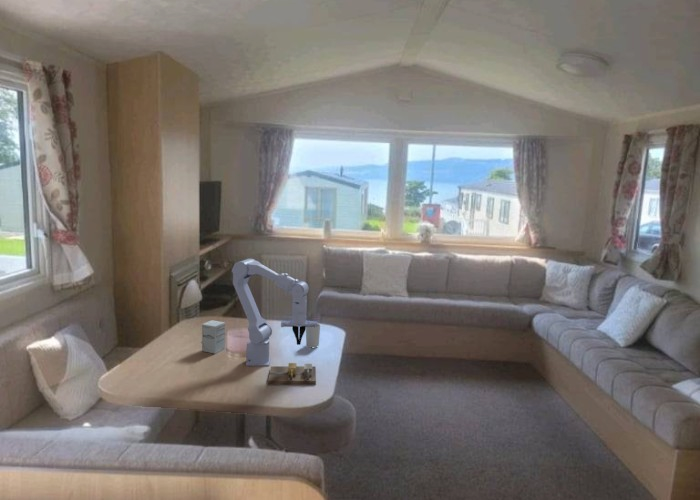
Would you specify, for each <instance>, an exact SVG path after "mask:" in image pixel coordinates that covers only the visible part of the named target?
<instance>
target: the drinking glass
mask: <svg viewBox="0 0 700 500" xmlns="http://www.w3.org/2000/svg"><path fill="white" fill-rule="evenodd" d="M320 331H321V324H320V323H317V327H306V330H305V341H306V342H305V345H306V348H308V347H310V348H309V349H312V348H311V347H317V346H319V345H320V334H321V333H320ZM317 348H318V347H317Z"/></svg>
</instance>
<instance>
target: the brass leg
mask: <svg viewBox="0 0 700 500" xmlns="http://www.w3.org/2000/svg"><path fill="white" fill-rule="evenodd" d="M296 366H297V362H288V375H291V379H293V375H296Z"/></svg>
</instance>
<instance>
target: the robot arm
mask: <svg viewBox="0 0 700 500" xmlns="http://www.w3.org/2000/svg"><path fill="white" fill-rule="evenodd" d="M231 273H232V285H233V287H234V289H235V292H236V294H237V297H238V299H239V301H240V304H241V307H242V310H243V311H244V313H245V316H246V318H247V320H248V326H247V331H248V339H249V341H248V342H246V351H245V352H246V353H245V354H246V357H245V362H246V363H245V365H246V367H247V366H252V367H253V366H254V367H255V366H260V367H261V366H262V367H263V366H266V367H267V366H270V364H271V360H272V359H271V357H270V337H271V336H272V334H273V329H272V327H271V326H270V325H269V324H268V322H267V320H266V319H265V318H263V317H262V316H261V313H260V310H259V307H258V305H257V304H256V301H255V298H254V296H253V294H252V291H251V288H250V287H249V283H248V282H249V280H250V278H251V276H254V275H259V276H261V277H264V278H267V279H268V280H271V281H272V282H274V283H275V285H276V286H277V287H278V288H281V289H282V290H284V291H286V292H287V293H290V295H291V297H292V301H291V302H292V306H291V307H292V310H291V311H292V314H291V316H292V317H291V320H282V321H280V328H286V327H287V328H289V327H290V328H292V333H293V334H294V336H295V340H296V345H298V346H299V345H301V343H302V338H303V336H304V334H305V333H306V327H317V324H318V321H314V320H313V321H312V320H307V307H308V306H307V304H308V297H307V296H308V295H307V294H308V293H309V291H310V286H309V284H308V283H307V282H306V281H304V280H299V279H298V278H296V279H295V278H294V277H291V276H290V274H289V273H283V272H282V273H277V272H276V271H274V270H273V269H270V268H269V267H267V266H266V265H263V264H262V263H261V262H260V261H259V260H255V259H254V258H249V257H248V258H246V259H244V260H240V261H236V262H235V263H234V265H233V267H232V269H231Z"/></svg>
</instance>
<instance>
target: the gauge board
mask: <svg viewBox="0 0 700 500" xmlns="http://www.w3.org/2000/svg"><path fill="white" fill-rule="evenodd" d="M288 366H289V365H288ZM288 366H285V365H284V366H283V365H282V366H272V365H271V366H270V368H269V369H270V370H269V375H268V380H267V385H268V386H287V385H288V386H289V385H291V386H294V385H295V386H296V385H297V386H299V385H300V386H302V385H303V386H310V385H311V386H312V385H313V386H316V385H317V375H316V373H317V371H316V366H313V363H304V365H303V366H298V365H296V375H293V379H291V375H288Z"/></svg>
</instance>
